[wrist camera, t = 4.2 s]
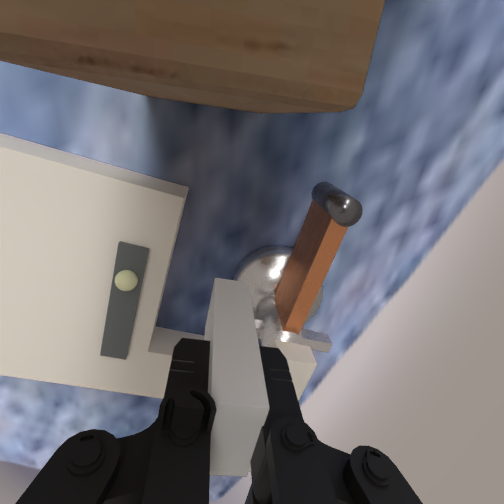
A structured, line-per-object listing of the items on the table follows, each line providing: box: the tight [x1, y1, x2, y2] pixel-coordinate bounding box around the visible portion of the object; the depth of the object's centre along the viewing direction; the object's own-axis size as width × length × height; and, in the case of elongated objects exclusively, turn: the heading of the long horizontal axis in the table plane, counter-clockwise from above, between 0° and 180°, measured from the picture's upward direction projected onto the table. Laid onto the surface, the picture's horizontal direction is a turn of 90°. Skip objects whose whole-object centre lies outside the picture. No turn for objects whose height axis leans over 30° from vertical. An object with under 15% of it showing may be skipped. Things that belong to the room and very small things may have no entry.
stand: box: [0, 133, 317, 472], centre depth 27 cm, size 22×33×12 cm, turn 72°
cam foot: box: [233, 182, 362, 353], centre depth 28 cm, size 18×10×9 cm, turn 162°
